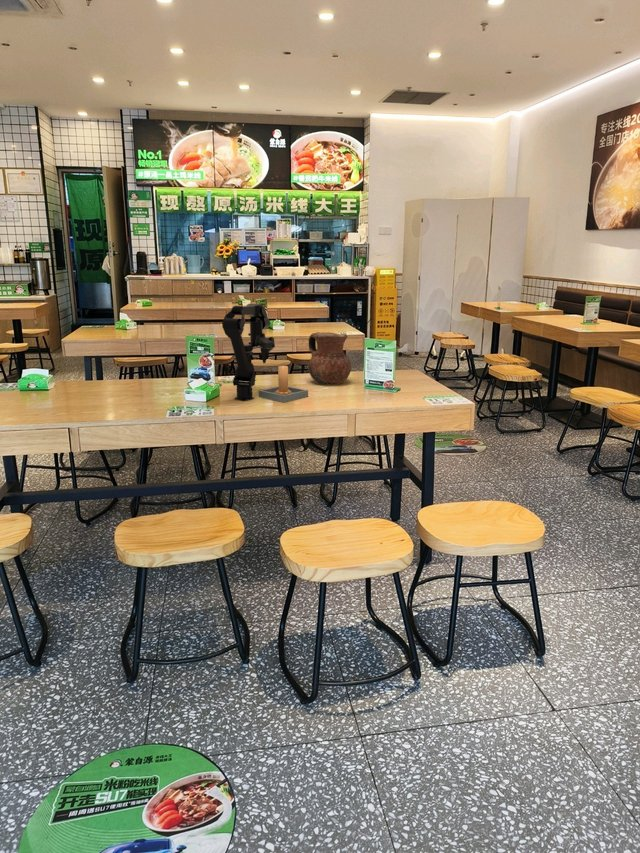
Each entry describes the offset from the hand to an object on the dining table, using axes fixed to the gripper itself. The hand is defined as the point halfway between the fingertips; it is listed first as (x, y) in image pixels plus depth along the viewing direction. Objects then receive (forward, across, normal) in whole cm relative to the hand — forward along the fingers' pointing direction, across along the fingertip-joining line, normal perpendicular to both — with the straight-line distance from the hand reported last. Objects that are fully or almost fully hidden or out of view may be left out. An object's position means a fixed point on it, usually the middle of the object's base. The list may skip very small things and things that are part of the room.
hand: (257, 364), depth 292 cm
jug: (+14, +41, -10) cm, 44 cm away
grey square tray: (+13, +1, -16) cm, 21 cm away
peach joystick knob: (+12, +1, -16) cm, 20 cm away
